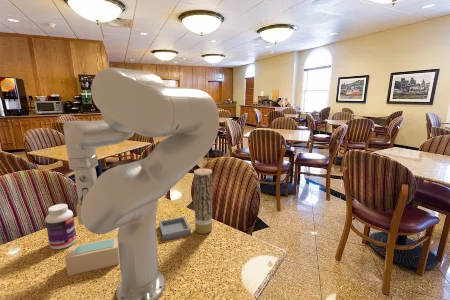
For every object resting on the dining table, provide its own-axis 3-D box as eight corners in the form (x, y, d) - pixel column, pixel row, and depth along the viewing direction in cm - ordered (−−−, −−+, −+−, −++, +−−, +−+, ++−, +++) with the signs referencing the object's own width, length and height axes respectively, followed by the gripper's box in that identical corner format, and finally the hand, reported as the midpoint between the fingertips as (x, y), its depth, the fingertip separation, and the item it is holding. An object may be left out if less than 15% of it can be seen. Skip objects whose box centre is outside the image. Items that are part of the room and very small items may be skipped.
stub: (101, 220, 72) (99, 202, 71) (79, 225, 70) (76, 206, 68) (102, 212, 78) (99, 195, 76) (81, 216, 75) (78, 198, 74)
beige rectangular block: (119, 264, 74) (117, 246, 72) (67, 276, 68) (64, 258, 67) (119, 252, 79) (118, 236, 78) (71, 263, 74) (68, 246, 73)
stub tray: (190, 234, 90) (190, 229, 90) (163, 240, 86) (162, 234, 86) (184, 221, 100) (184, 216, 99) (159, 226, 96) (159, 221, 95)
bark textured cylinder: (214, 232, 92) (214, 172, 86) (197, 236, 89) (196, 174, 84) (209, 224, 98) (208, 167, 92) (193, 227, 95) (192, 169, 90)
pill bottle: (73, 248, 81) (67, 210, 78) (46, 252, 79) (39, 214, 76) (79, 235, 89) (74, 200, 86) (55, 239, 86) (49, 203, 83)
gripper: (95, 167, 64) (103, 226, 67) (98, 154, 79) (105, 203, 83) (63, 170, 61) (73, 232, 64) (73, 157, 76) (80, 208, 80)
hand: (91, 216), depth 73 cm, fingers closed on stub, 6 cm apart
